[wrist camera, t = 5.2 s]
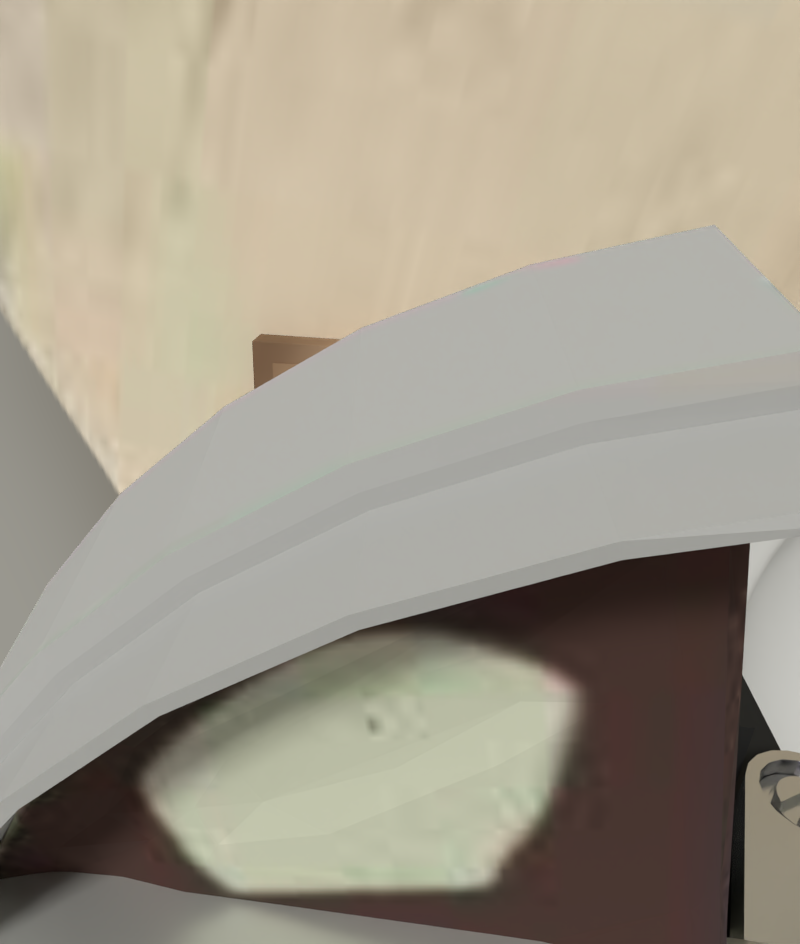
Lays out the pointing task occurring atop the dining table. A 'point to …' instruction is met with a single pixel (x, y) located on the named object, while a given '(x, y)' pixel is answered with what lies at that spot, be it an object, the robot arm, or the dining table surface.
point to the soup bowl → (775, 636)
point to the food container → (435, 616)
